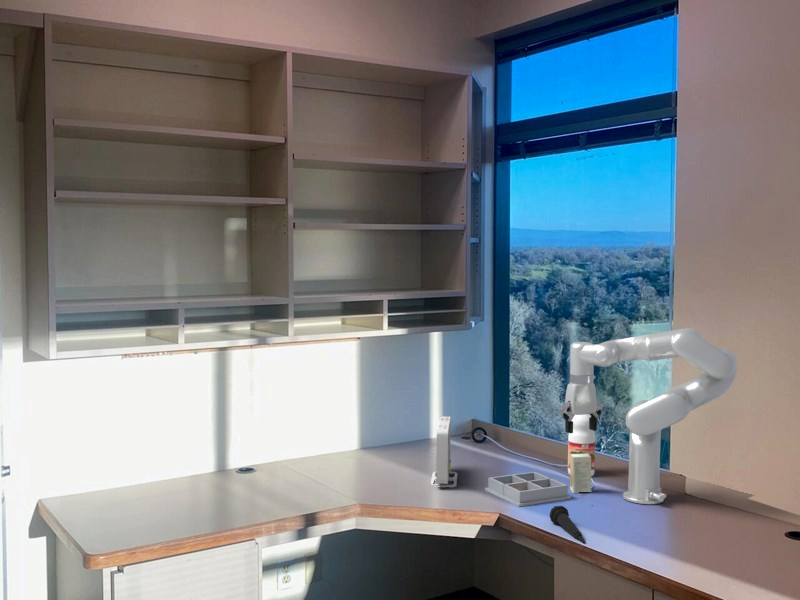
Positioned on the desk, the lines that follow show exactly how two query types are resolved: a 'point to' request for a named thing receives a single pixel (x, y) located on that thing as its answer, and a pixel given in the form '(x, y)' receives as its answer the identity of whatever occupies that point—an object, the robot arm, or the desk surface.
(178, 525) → the desk surface
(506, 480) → the gray compartment tray
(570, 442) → the fruit juice
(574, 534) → the microphone
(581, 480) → the skincare box
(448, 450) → the network device
